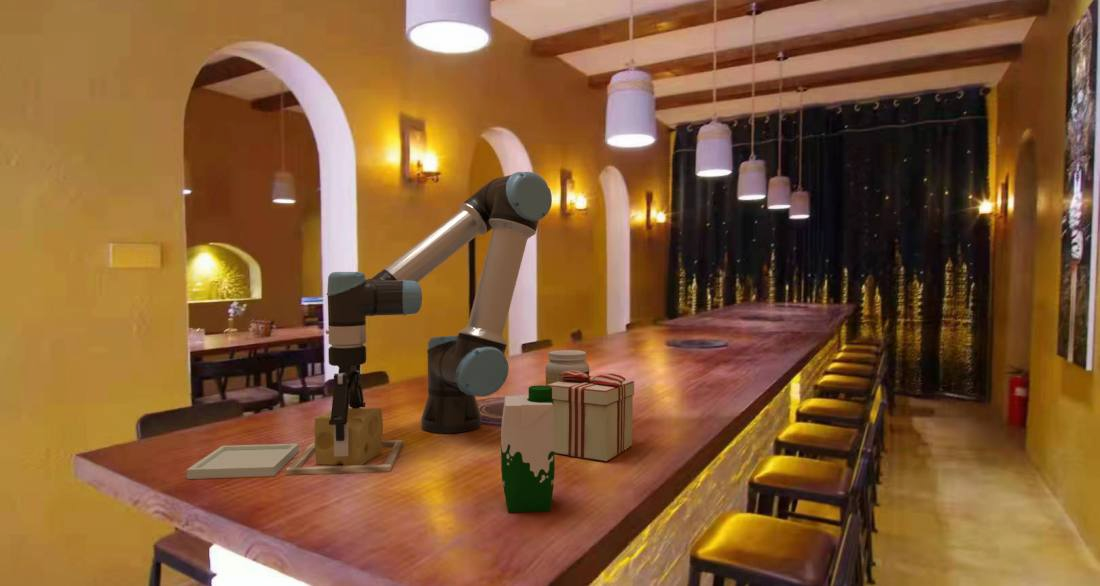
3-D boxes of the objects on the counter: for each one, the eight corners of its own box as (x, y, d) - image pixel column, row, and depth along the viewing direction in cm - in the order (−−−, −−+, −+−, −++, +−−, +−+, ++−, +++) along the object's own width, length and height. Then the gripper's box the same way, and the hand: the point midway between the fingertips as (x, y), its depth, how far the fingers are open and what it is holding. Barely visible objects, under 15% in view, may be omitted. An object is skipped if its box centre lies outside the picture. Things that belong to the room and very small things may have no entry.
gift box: (639, 441, 145) (639, 367, 144) (612, 464, 128) (613, 381, 127) (571, 433, 152) (571, 362, 151) (538, 454, 135) (537, 375, 134)
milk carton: (556, 513, 103) (556, 392, 102) (501, 515, 102) (501, 393, 101) (552, 493, 111) (552, 382, 110) (501, 495, 111) (500, 383, 110)
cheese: (360, 468, 126) (359, 419, 125) (311, 465, 128) (310, 416, 127) (384, 453, 136) (383, 407, 136) (338, 450, 138) (338, 405, 138)
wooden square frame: (403, 444, 142) (403, 440, 142) (390, 471, 123) (390, 466, 123) (312, 446, 140) (312, 442, 140) (285, 475, 121) (285, 469, 121)
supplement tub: (590, 418, 166) (590, 355, 166) (544, 418, 167) (544, 355, 166) (588, 408, 179) (588, 349, 178) (545, 408, 179) (545, 349, 178)
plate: (298, 451, 137) (298, 443, 137) (273, 476, 121) (273, 467, 121) (222, 454, 135) (222, 445, 135) (186, 479, 119) (186, 469, 119)
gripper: (342, 338, 143) (343, 431, 144) (312, 353, 118) (314, 465, 119) (376, 338, 144) (377, 430, 144) (353, 353, 119) (354, 464, 120)
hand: (348, 446), depth 132 cm, fingers open, 12 cm apart
